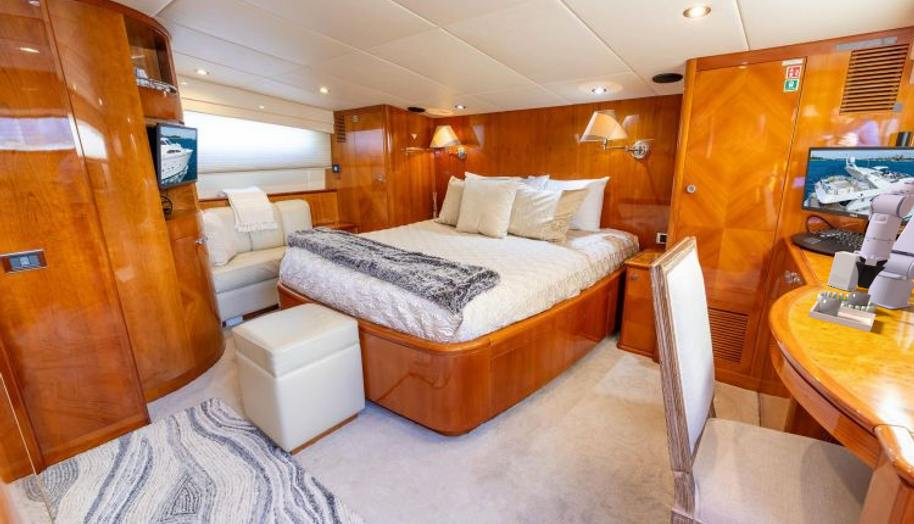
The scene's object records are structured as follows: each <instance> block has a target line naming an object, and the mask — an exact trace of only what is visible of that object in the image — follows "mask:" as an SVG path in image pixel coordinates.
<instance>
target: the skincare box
mask: <svg viewBox="0 0 914 524" xmlns="http://www.w3.org/2000/svg"><path fill="white" fill-rule="evenodd" d="M834 254H835V255H834V257H833V262H832V265H831V269H830V271H829V272H830V273H829V276H828V281H827V286H828V285H829V286H828V287H831V286H832V287H831V288H834V287H835V288H834V289H838V290H842V291H846V292H852V291H853V290H854V291H857V287H858V286H857V283H858V270H857V266H856V262H857V261H859V262H861V261H860V258H859V257H860V255H858V254H854V252H850V251H849V252H848V251H844V250H843V251H842V250H841V251H836V252H835V253H834Z"/></svg>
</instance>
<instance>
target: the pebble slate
mask: <svg viewBox="0 0 914 524" xmlns="http://www.w3.org/2000/svg"><path fill="white" fill-rule="evenodd" d="M841 303H842V301H840V300H838V298H836V299H835V298H832V297H831V298H830V297H822V300H821V303H820V306H819V309H818V313H822V314H826V315H830V316H834V317H837V315H838V312H839V309H840V306H841Z"/></svg>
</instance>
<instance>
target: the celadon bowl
mask: <svg viewBox="0 0 914 524" xmlns="http://www.w3.org/2000/svg"><path fill="white" fill-rule="evenodd" d="M838 294H839V295H838ZM850 294H851V293H846V294H845V293H843V292H840V293H839V292H837V291H833V292H832V291H823V292H822V291H820V292H818V294H817V297H816V302H817V301H819V302H821V300H822V297H830V298H835V299H838V300H840V301H842V303H841V307H846V308H850V309H853V307H854V306H853V305H849V306H848V307H847V304H848V301H849V297H850ZM845 295H846V296H845ZM844 297H845V298H844ZM877 307H878V305H876V304H875V303H874V302H872V301H870V300H869V303H868V306H867V307H865V306H862V308H861V307H860V306H856V307H855V310H859V311H860V308H861V311H864V312H868V313H872V314H874V313H875V312H876V309H877Z"/></svg>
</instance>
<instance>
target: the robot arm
mask: <svg viewBox="0 0 914 524" xmlns="http://www.w3.org/2000/svg"><path fill="white" fill-rule="evenodd" d="M913 208H914V177H913V178H912V179H907V180H904V181H902V182H901V183H899V184H898V185H896V186H895V187H894V188H893V189H891V190H889V191H888V192H886V193H881V194H879V195H876V196H874V197H873V198H872V200H871V202H870V204H869V208H868V211H869V215H868V221H869V224H868V227H867V229H866V232H865V235H864V239H863V241H862V246H861V249H860V250H854V251H853V253H854V254H858V255H860V257H859V258H860V261H861V262H859V261H857V262H856V266H857V270H858V286H857V287H858V288H860V289H861V288H862V289H865V290H868V292H867V294H870V295H871V297H870V301H872V302H874V303H875V304H876V305H877V307H882V308H885V309H888V310H895V309H902V308H903V309H904V308H908V307H911V306H912V304H909V300H910V298H911V295H912V292H913V289H914V213H913V215H912V216H911V218H910V219H909V221H908V222H907V224H906V225H905V227H904V229H903V230H902V232H901V234H900V235H899V236H898V238H897V235H898V233H899V230H900V227H901V224H902V222H903V218H905V217H907V216H908V214H909V213H910V212H911V210H912V209H913ZM896 238H897V239H896ZM895 240H896V241H895ZM869 287H870V288H869ZM868 288H869V289H868Z"/></svg>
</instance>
